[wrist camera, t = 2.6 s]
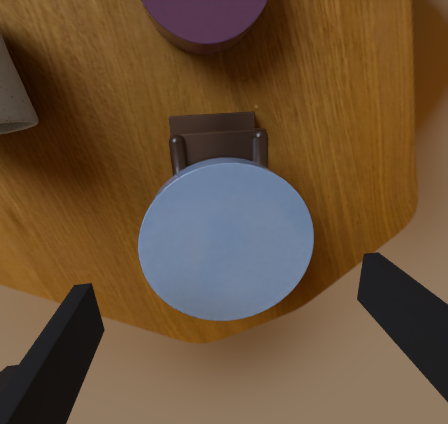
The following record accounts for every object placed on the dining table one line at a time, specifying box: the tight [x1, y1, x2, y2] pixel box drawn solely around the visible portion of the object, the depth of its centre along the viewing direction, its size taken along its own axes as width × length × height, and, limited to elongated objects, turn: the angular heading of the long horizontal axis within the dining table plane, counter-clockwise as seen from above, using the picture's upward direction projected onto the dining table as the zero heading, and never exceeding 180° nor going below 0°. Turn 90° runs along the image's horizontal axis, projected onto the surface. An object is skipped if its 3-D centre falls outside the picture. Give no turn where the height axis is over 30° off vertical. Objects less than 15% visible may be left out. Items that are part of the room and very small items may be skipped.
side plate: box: [138, 158, 314, 321], centre depth 17 cm, size 11×11×2 cm
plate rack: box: [169, 112, 268, 318], centre depth 22 cm, size 7×16×8 cm, turn 3°
